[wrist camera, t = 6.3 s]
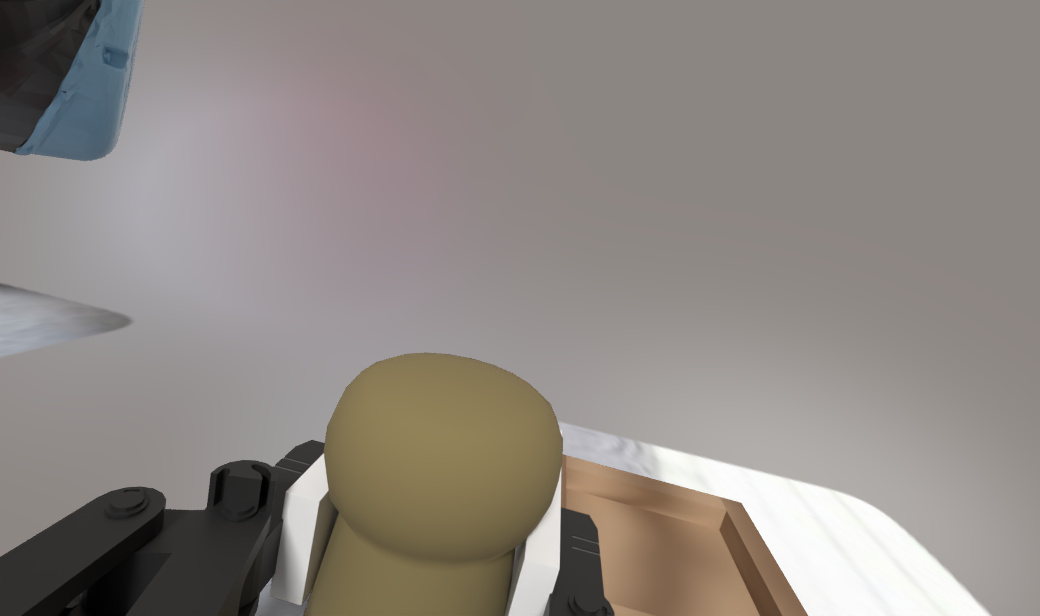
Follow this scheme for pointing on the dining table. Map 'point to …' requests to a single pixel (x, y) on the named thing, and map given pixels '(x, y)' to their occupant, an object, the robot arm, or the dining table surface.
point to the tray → (675, 547)
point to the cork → (433, 487)
